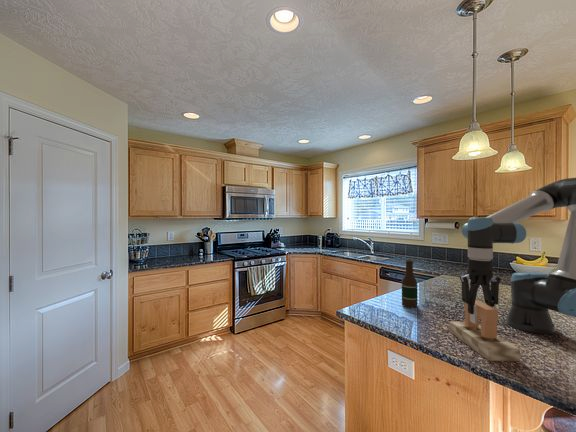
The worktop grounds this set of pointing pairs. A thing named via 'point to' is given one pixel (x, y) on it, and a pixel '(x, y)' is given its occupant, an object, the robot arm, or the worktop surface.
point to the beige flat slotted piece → (485, 343)
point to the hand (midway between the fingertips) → (479, 322)
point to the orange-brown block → (484, 319)
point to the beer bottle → (409, 287)
